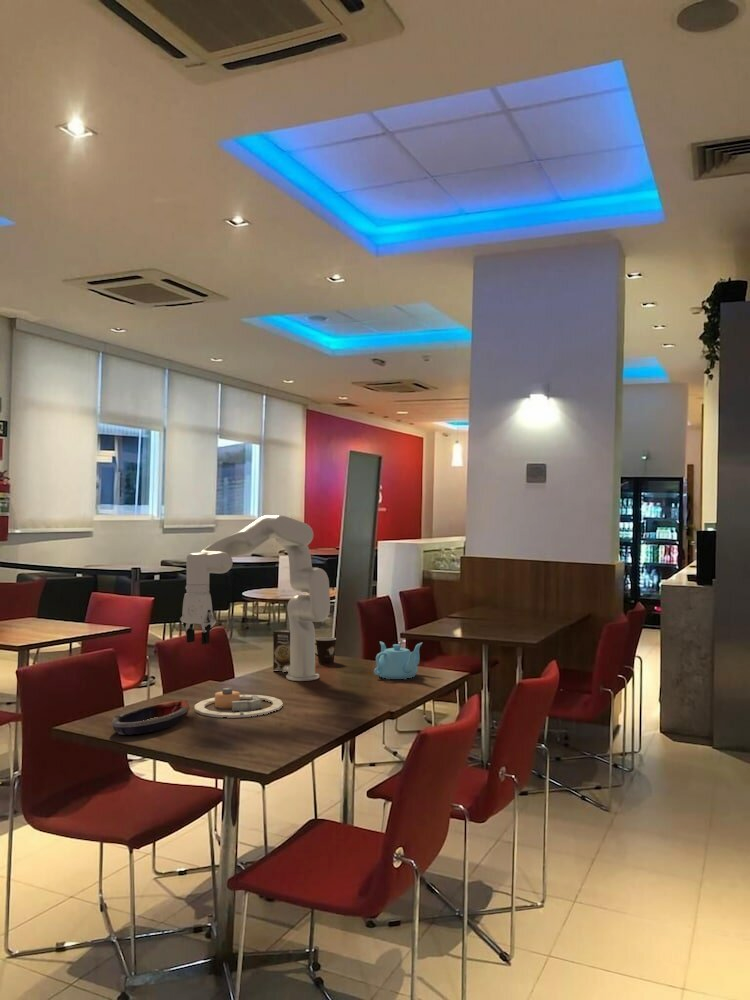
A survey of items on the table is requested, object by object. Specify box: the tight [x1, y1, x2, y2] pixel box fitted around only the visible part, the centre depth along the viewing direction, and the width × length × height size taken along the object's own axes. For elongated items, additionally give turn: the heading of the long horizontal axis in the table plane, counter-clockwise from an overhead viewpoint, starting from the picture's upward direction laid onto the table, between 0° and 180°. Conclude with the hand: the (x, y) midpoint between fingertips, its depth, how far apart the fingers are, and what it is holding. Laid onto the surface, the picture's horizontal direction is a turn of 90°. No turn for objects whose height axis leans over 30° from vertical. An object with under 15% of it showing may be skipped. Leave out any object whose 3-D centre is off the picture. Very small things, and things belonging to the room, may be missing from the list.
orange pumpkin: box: [214, 687, 241, 709], centre depth 268 cm, size 8×8×6 cm
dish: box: [111, 699, 190, 736], centre depth 244 cm, size 16×31×5 cm, turn 153°
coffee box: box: [272, 629, 290, 672], centre depth 326 cm, size 9×6×16 cm
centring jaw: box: [231, 694, 262, 713], centre depth 263 cm, size 6×12×3 cm, turn 148°
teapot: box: [373, 641, 423, 680], centre depth 314 cm, size 17×19×12 cm
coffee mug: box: [315, 636, 337, 665], centre depth 343 cm, size 12×9×10 cm
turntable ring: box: [194, 694, 284, 719], centre depth 265 cm, size 28×28×1 cm
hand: (198, 642), depth 275 cm, fingers open, 6 cm apart
